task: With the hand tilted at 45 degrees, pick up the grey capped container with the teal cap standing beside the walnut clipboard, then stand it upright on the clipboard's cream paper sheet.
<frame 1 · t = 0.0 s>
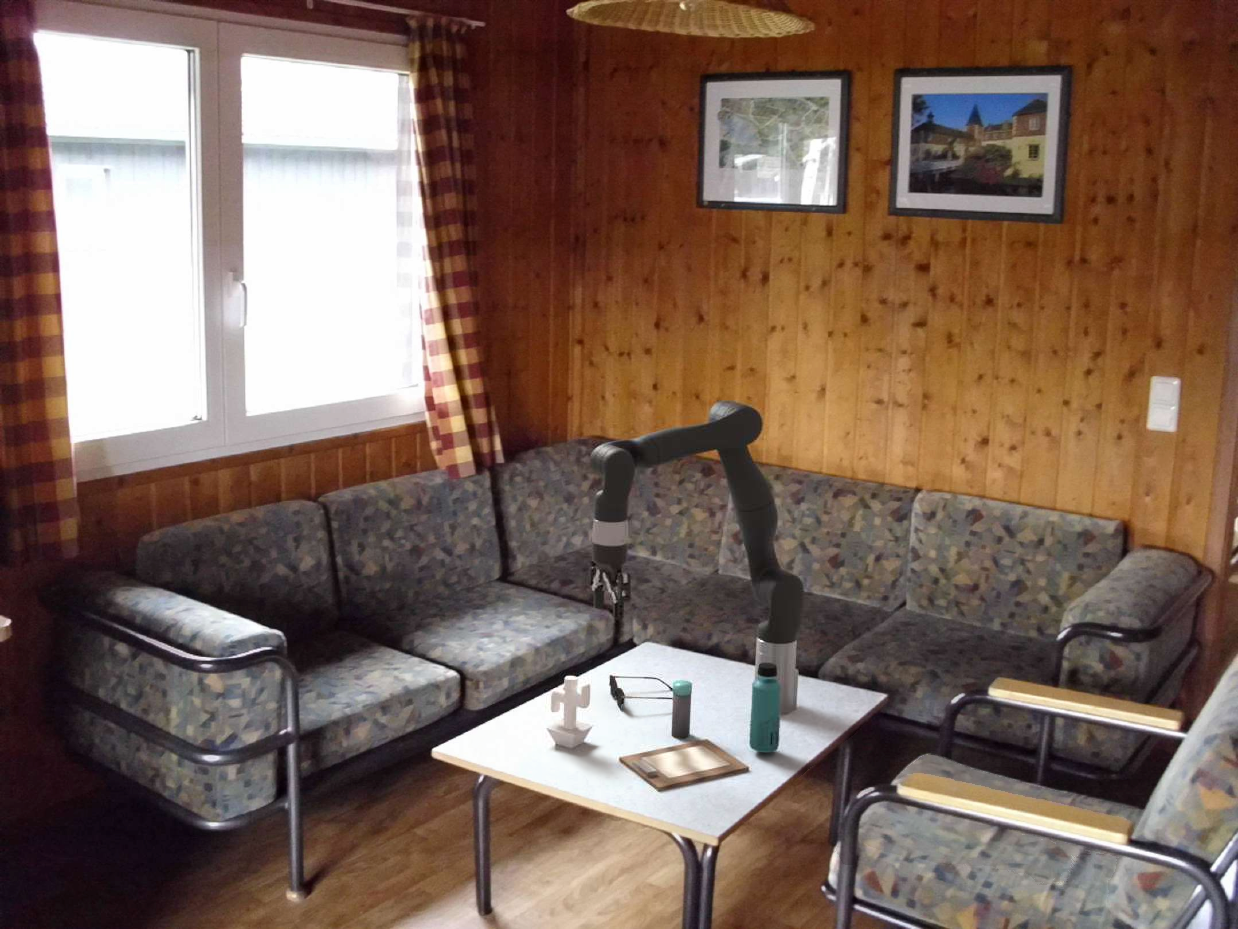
hand: (608, 613, 287), 29 cm above the table, tool pointing down, fingers open, 8 cm apart
grey capped container: (680, 735, 297), on the table
sunglasses: (647, 702, 317), on the table
clipboard: (683, 765, 282), on the table
figurine: (569, 743, 292), on the table
beverage bottle: (763, 753, 289), on the table
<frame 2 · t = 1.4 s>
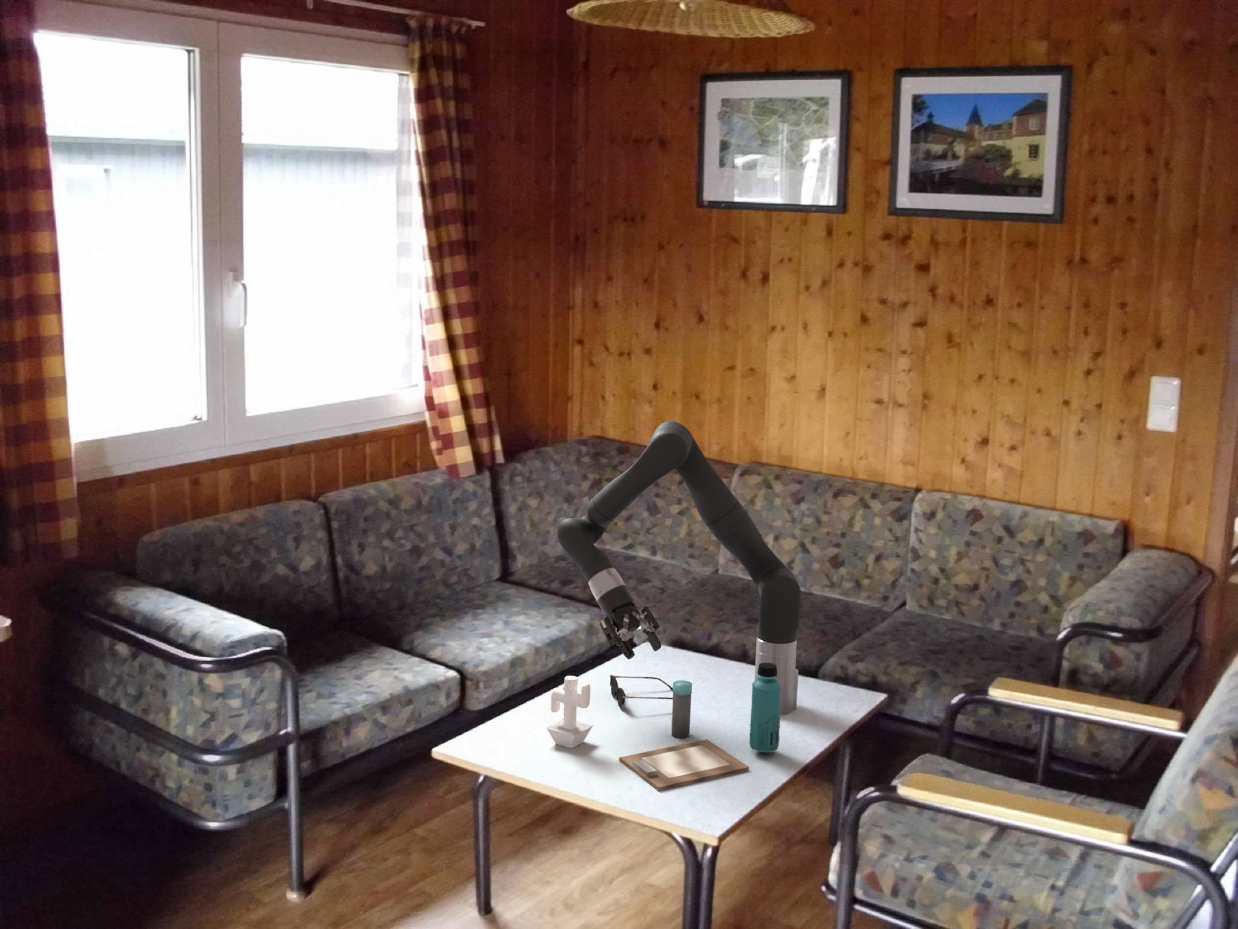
hand: (645, 653, 302), 16 cm above the table, tool tilted 45°, fingers open, 8 cm apart
nothing on the table moved.
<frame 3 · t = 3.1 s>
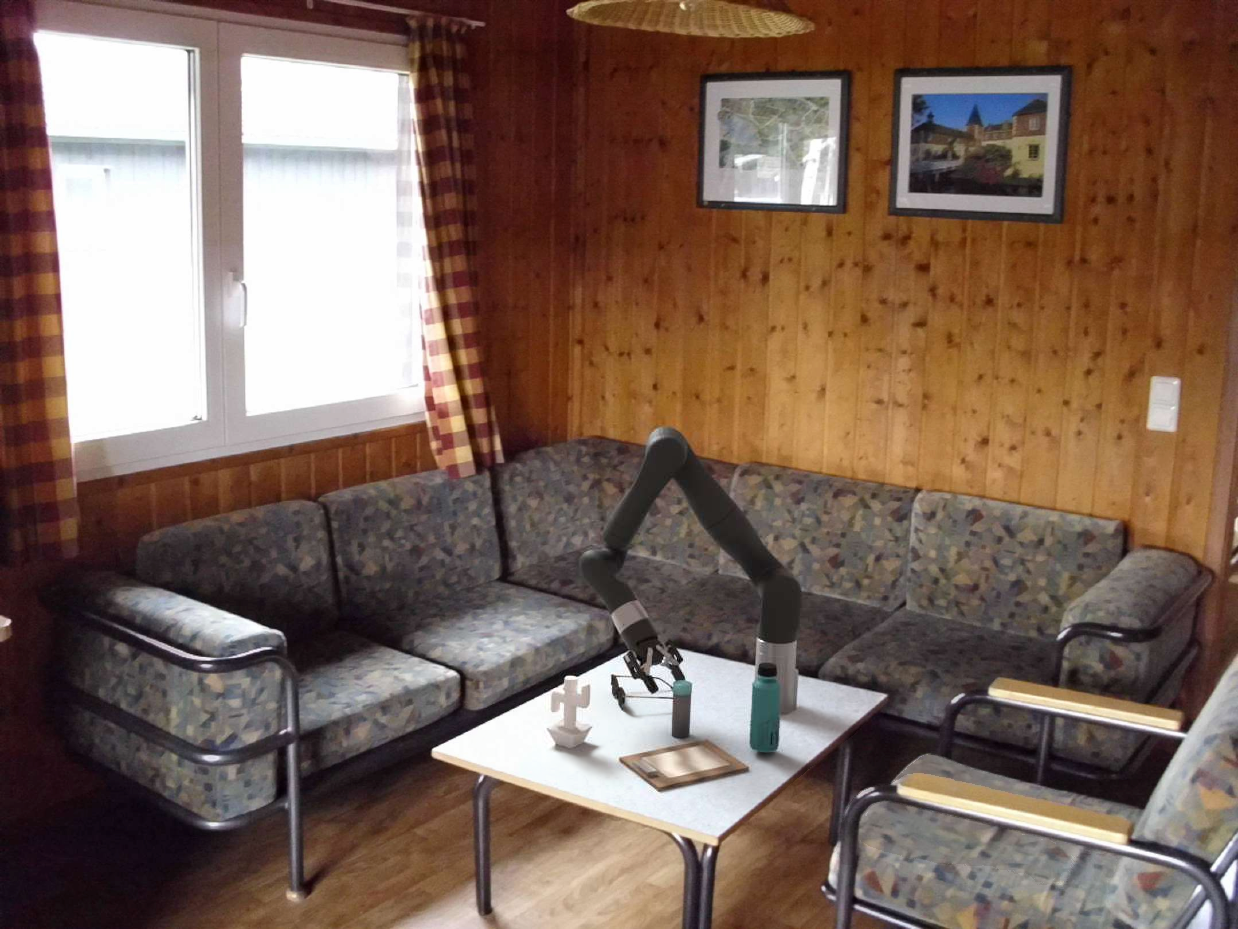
hand: (669, 687, 298), 10 cm above the table, tool tilted 45°, fingers open, 8 cm apart
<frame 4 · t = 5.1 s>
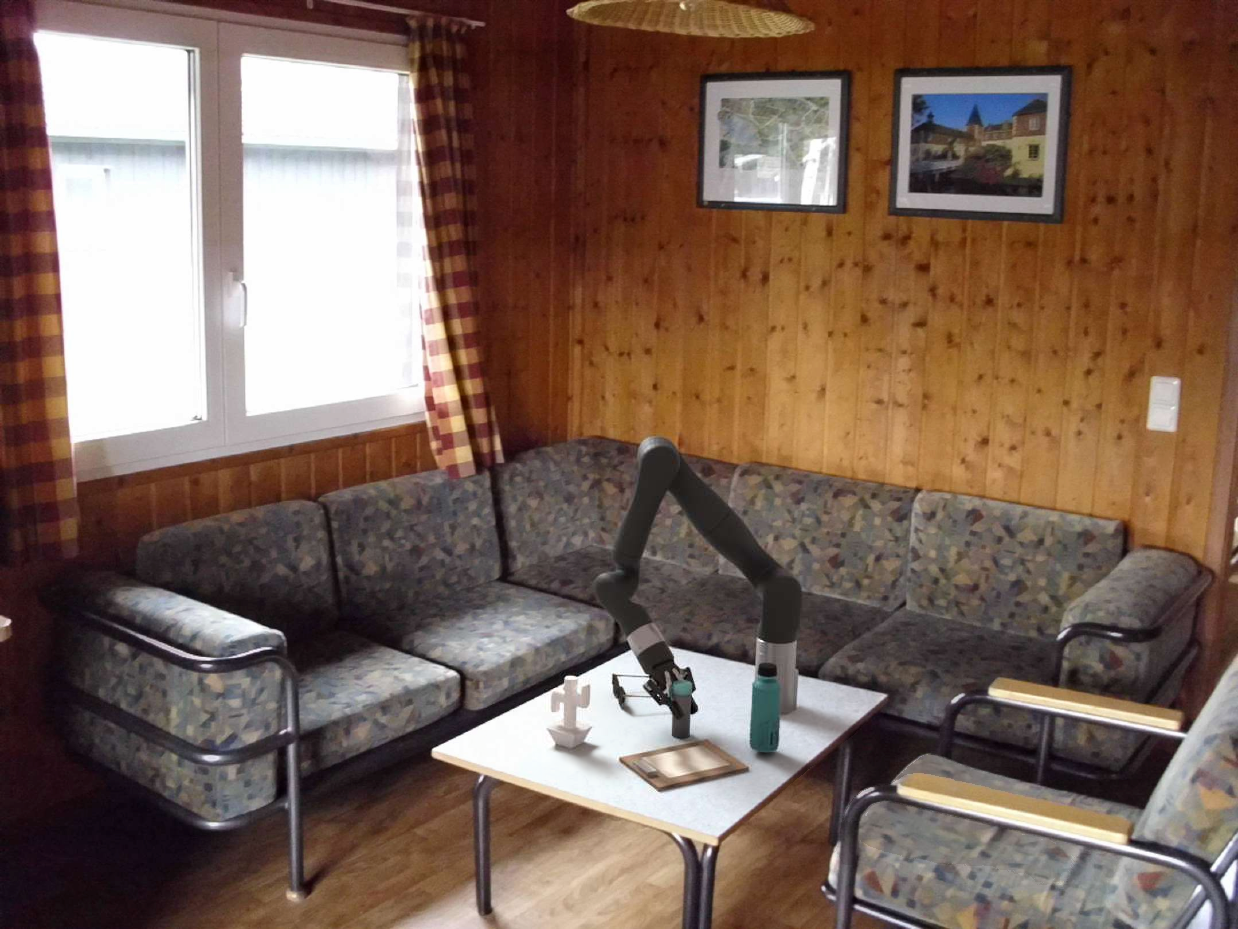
hand: (688, 715, 295), 5 cm above the table, tool tilted 45°, fingers closed on grey capped container, 4 cm apart
grey capped container: (680, 735, 297), on the table, touching gripper
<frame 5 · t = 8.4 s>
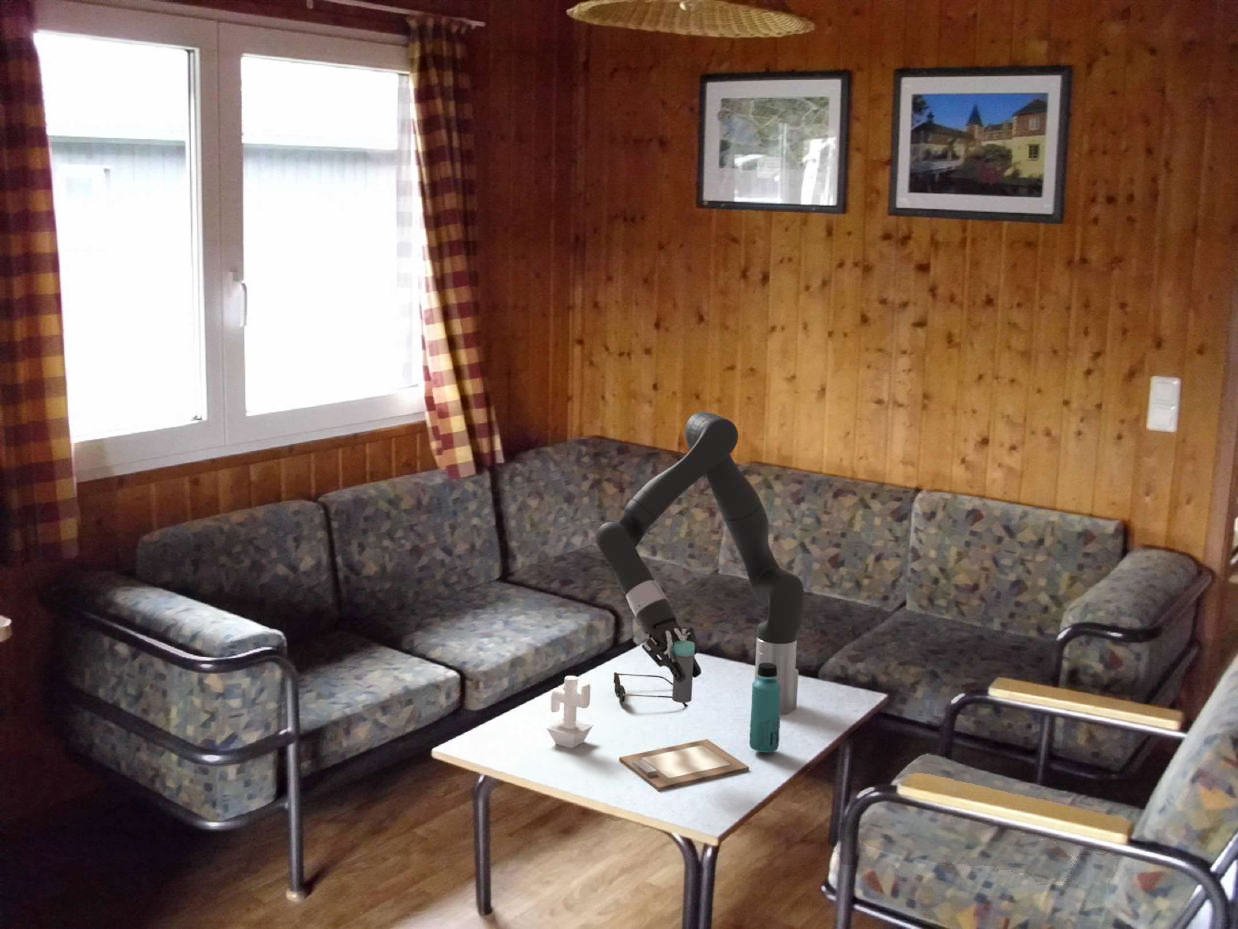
hand: (690, 677, 276), 20 cm above the table, tool tilted 45°, fingers closed on grey capped container, 4 cm apart
grey capped container: (681, 699, 278), point 15 cm above the table, touching gripper
when the fingers open (7 cm above the table, at t = 11.9 s): grey capped container drops 1 cm, resting on clipboard.
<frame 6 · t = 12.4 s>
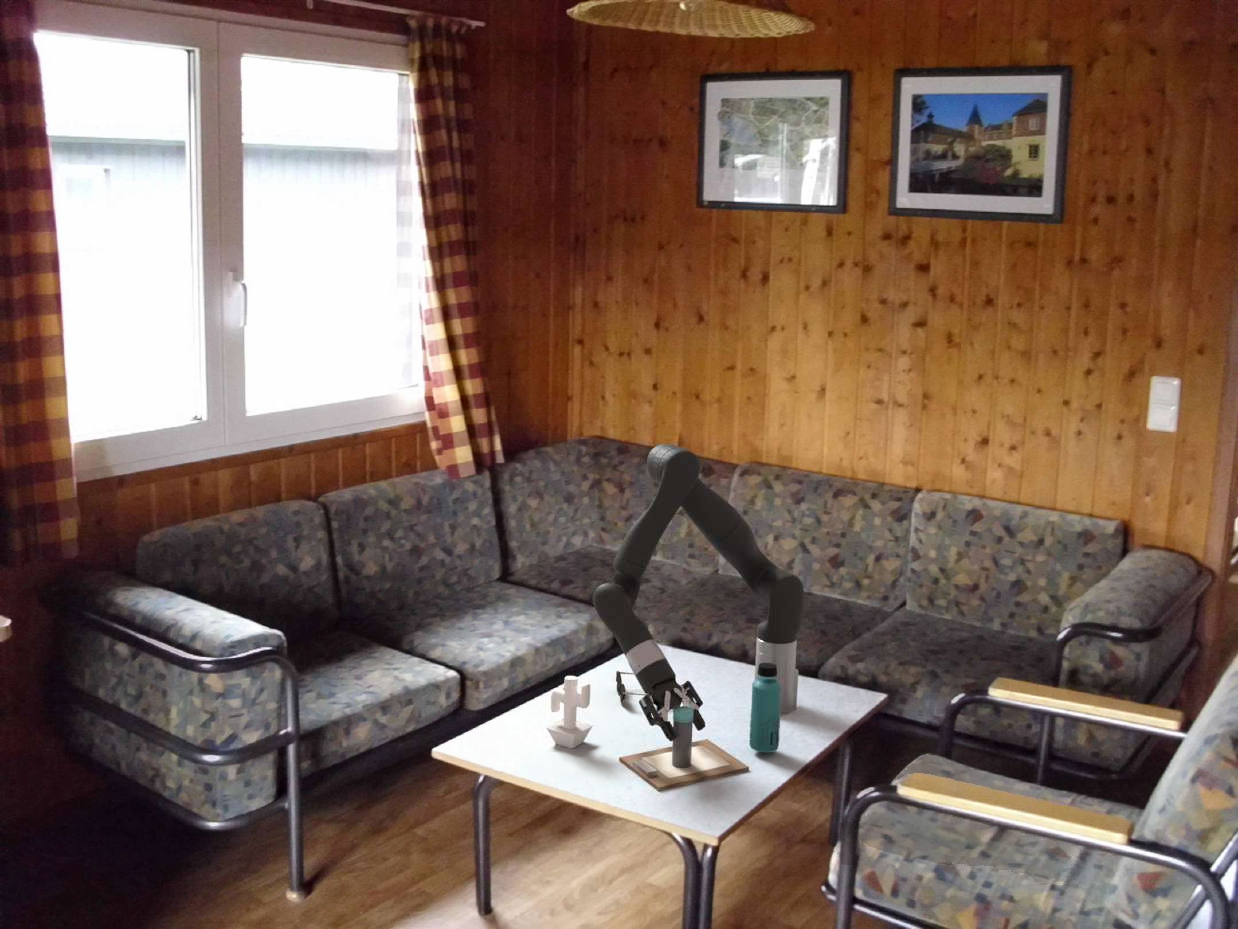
hand: (688, 734, 278), 8 cm above the table, tool tilted 45°, fingers open, 8 cm apart
grey capped container: (681, 764, 280), point 1 cm above the table, touching clipboard
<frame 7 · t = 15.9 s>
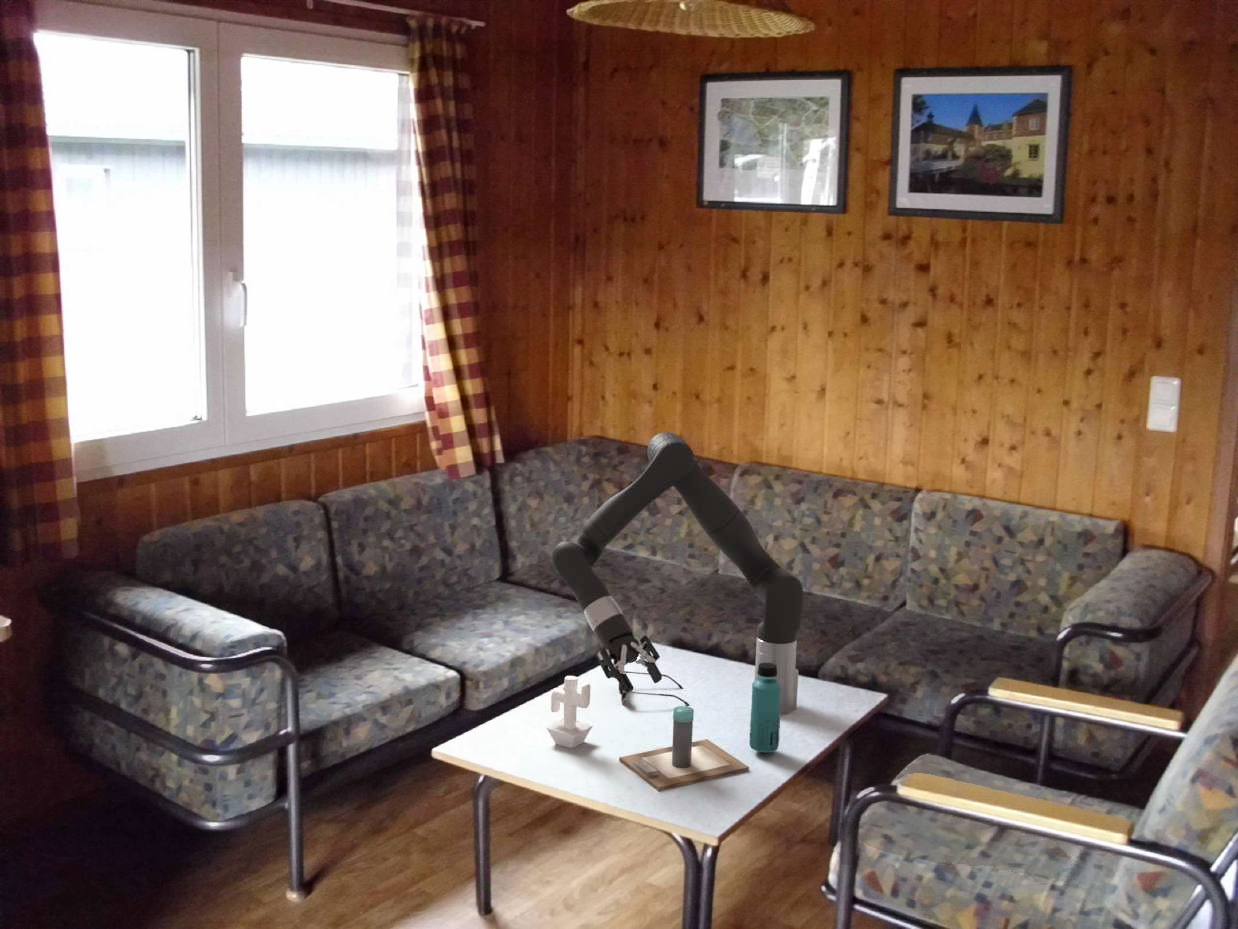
hand: (644, 686, 286), 15 cm above the table, tool tilted 45°, fingers open, 8 cm apart
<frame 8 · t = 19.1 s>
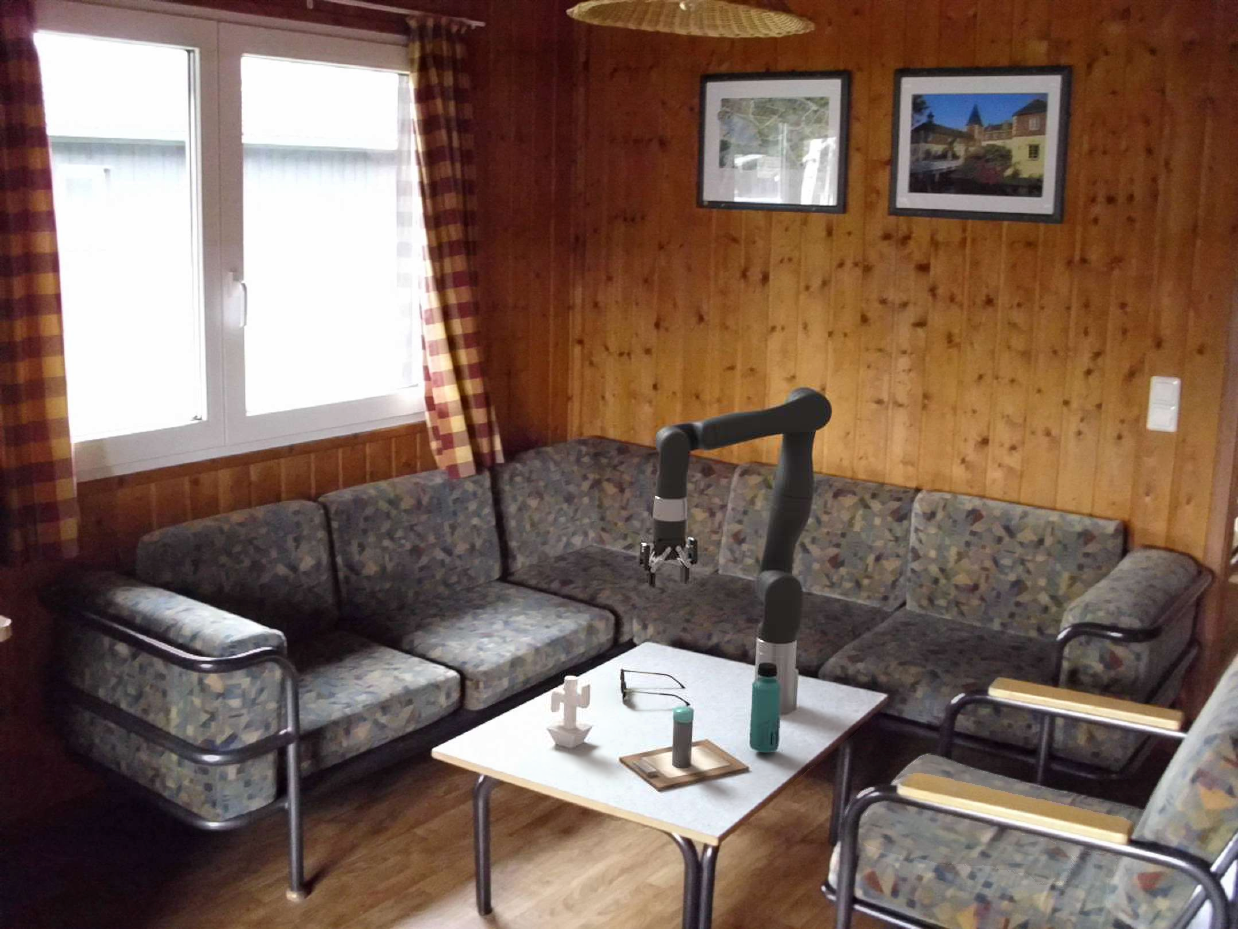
hand: (667, 585, 305), 30 cm above the table, tool pointing down, fingers open, 8 cm apart
at the end: grey capped container inside the target area on the clipboard (1.4 cm from its centre), point 0.9 cm above the clipboard's base; grey capped container tilted 0°; the gripper is holding nothing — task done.
